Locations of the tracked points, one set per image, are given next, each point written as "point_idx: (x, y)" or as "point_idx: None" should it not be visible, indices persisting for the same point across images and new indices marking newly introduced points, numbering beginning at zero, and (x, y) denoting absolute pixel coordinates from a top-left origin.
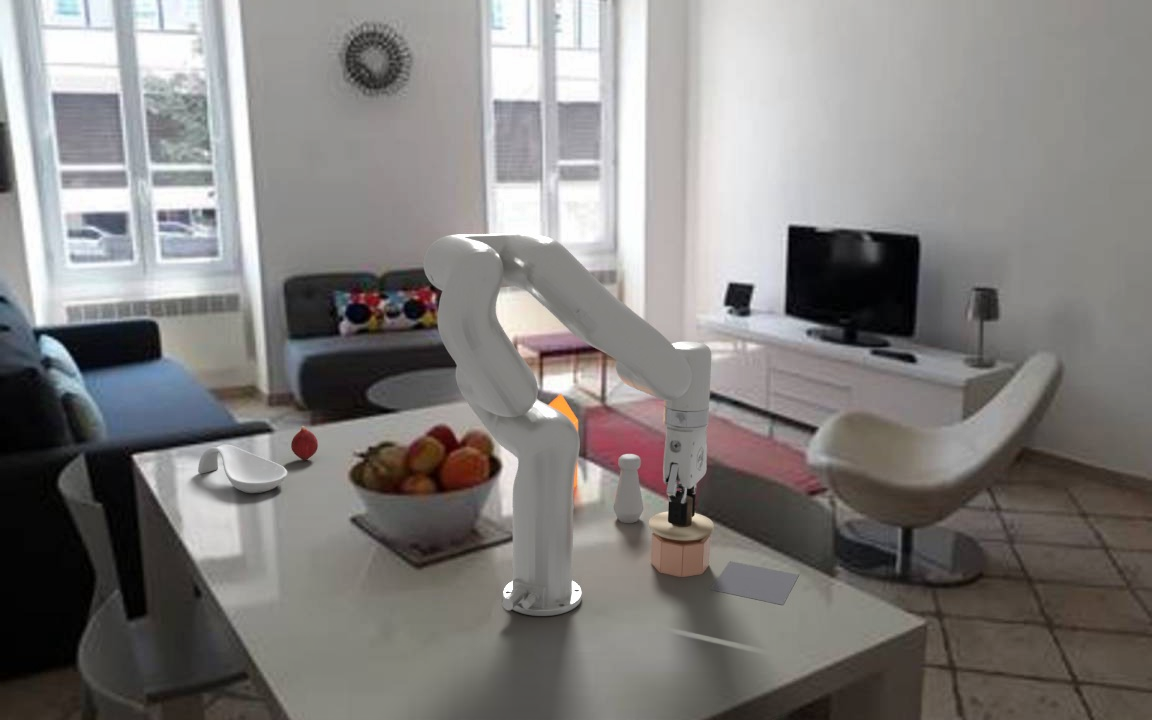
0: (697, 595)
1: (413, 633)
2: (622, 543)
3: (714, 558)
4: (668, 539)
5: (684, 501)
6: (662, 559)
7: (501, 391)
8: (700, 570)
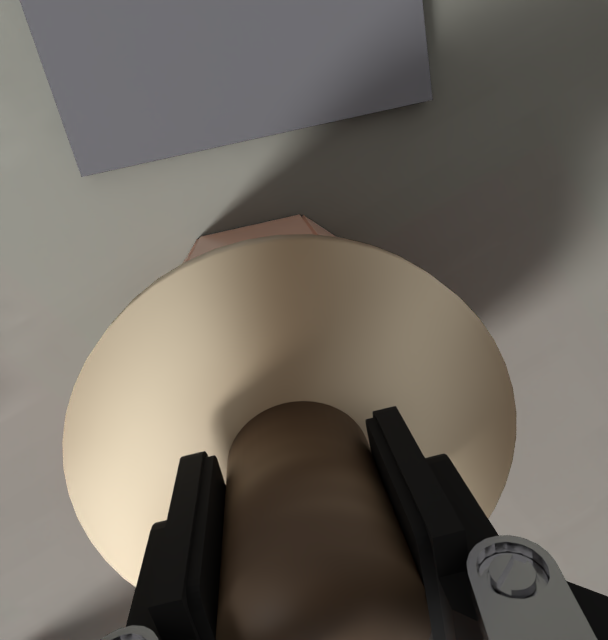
0: (477, 135)
1: None
2: None
3: (85, 270)
4: None
5: (505, 564)
6: None
7: None
8: (314, 224)
